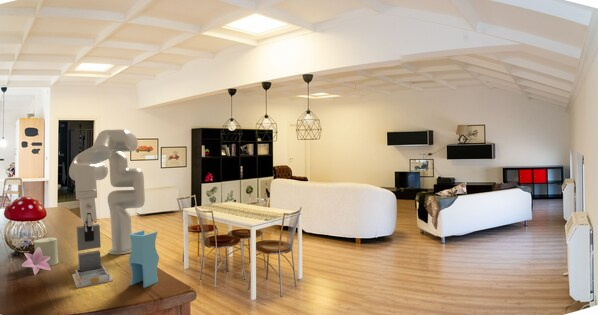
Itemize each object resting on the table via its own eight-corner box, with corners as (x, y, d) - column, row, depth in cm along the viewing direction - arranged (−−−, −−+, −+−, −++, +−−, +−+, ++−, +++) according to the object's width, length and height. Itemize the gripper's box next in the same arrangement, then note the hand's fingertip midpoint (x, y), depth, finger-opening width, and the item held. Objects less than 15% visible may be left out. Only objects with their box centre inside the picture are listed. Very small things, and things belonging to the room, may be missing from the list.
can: (47, 267, 186) (46, 241, 185) (30, 266, 187) (28, 241, 187) (63, 261, 195) (61, 236, 194) (46, 260, 196) (45, 236, 196)
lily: (16, 280, 173) (24, 261, 171) (15, 263, 181) (23, 245, 180) (48, 281, 181) (56, 263, 179) (45, 265, 189) (53, 248, 188)
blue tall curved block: (160, 280, 164) (157, 231, 163) (145, 287, 157) (142, 236, 156) (145, 278, 167) (143, 230, 166) (130, 285, 160) (127, 234, 159)
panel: (99, 245, 168) (98, 224, 167) (100, 247, 165) (99, 225, 165) (77, 249, 163) (76, 226, 163) (78, 250, 161) (77, 228, 160)
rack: (105, 269, 180) (104, 248, 180) (112, 280, 165) (111, 257, 165) (72, 275, 173) (70, 253, 173) (76, 288, 158) (75, 263, 158)
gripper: (99, 196, 158) (102, 242, 159) (94, 191, 172) (96, 234, 173) (77, 198, 154) (80, 245, 155) (74, 193, 168) (76, 237, 169)
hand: (89, 239), depth 164 cm, fingers closed on panel, 3 cm apart
